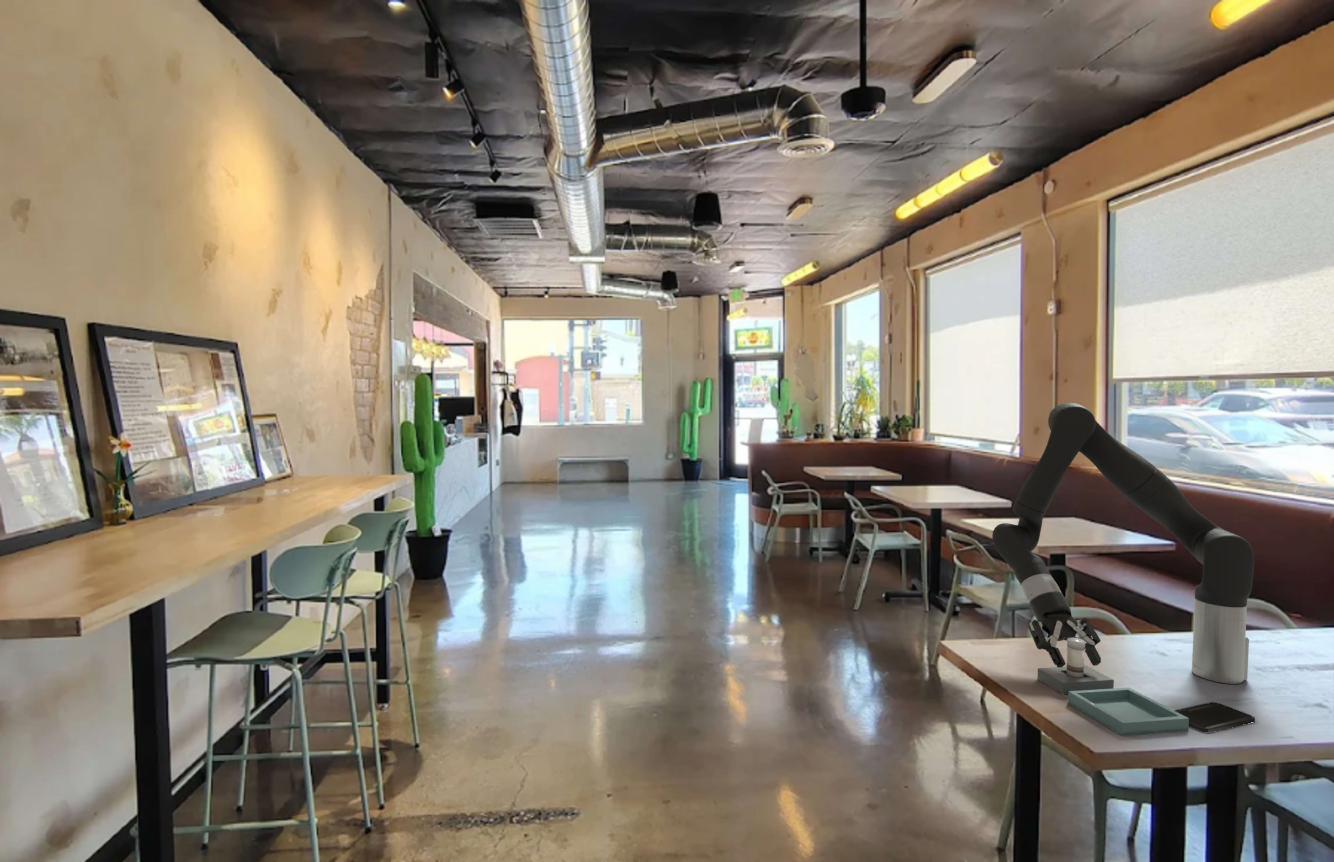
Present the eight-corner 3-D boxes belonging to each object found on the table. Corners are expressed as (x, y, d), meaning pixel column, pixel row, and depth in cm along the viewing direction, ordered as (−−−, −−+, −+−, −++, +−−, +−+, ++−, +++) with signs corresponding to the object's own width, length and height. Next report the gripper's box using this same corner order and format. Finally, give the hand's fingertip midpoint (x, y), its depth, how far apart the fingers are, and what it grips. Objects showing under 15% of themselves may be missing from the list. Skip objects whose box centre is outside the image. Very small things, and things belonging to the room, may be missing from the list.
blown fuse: (1075, 681, 152) (1077, 637, 152) (1087, 687, 149) (1088, 642, 149) (1062, 682, 152) (1063, 638, 152) (1073, 688, 149) (1074, 643, 148)
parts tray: (1128, 699, 144) (1128, 687, 143) (1188, 731, 130) (1188, 718, 130) (1068, 703, 141) (1068, 691, 141) (1122, 736, 128) (1123, 723, 128)
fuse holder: (1085, 676, 155) (1085, 665, 155) (1113, 691, 147) (1113, 679, 147) (1037, 679, 154) (1037, 668, 154) (1063, 694, 146) (1063, 682, 146)
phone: (1258, 718, 134) (1206, 730, 129) (1257, 723, 134) (1205, 735, 129) (1214, 701, 141) (1163, 711, 136) (1213, 706, 141) (1163, 717, 136)
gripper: (1025, 591, 156) (1059, 659, 145) (1081, 589, 158) (1119, 656, 147) (1009, 607, 162) (1041, 674, 151) (1064, 604, 164) (1099, 670, 153)
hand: (1079, 665), depth 149 cm, fingers open, 8 cm apart
